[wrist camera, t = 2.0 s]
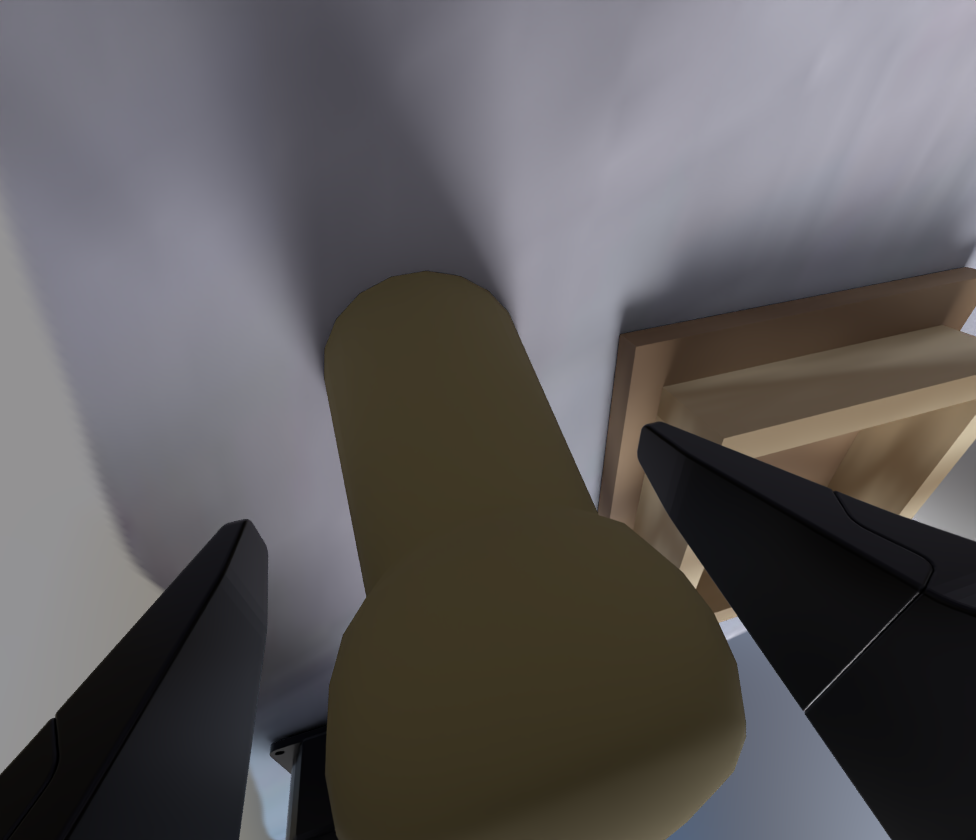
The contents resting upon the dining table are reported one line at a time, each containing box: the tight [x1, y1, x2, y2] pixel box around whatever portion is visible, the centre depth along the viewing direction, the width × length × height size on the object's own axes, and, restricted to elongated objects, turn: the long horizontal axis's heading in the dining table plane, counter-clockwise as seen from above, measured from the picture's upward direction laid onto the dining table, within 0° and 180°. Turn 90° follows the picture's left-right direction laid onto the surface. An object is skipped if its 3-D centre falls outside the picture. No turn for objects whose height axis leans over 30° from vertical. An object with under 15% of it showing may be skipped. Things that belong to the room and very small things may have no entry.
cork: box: [324, 271, 746, 840], centre depth 9 cm, size 6×6×11 cm
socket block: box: [598, 267, 976, 623], centre depth 18 cm, size 16×15×4 cm
